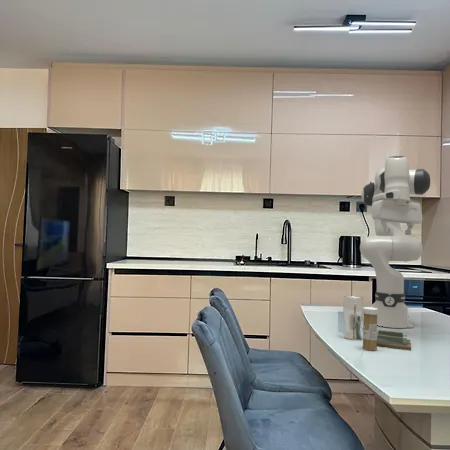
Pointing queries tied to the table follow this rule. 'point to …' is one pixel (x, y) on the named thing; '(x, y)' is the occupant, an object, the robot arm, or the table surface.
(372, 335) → the sprinkles bottle
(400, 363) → the table surface
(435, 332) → the table surface
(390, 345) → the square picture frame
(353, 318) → the beer glass
